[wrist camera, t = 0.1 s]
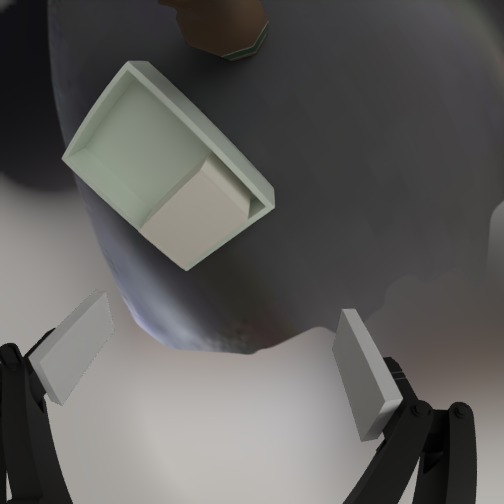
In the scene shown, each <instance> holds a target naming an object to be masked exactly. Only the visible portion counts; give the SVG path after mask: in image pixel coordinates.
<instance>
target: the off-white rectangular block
mask: <svg viewBox="0 0 504 504" xmlns="http://www.w3.org/2000/svg"><path fill="white" fill-rule="evenodd" d="M250 198H251V190H250V189H249V188H248V187H247V186H246V185H245V184H244V183H243V182H242V181H241V180H240V179H239V178H238V177H237V176H236V175H235V174H234V173H233V172H232V171H231V170H230V169H229V167H228V166H227V165H226V164H225V163H224V162H223V161H222V160H221V159H220V158H219V157H218V156H217V155H216V154H215V153H214V152H213V151H211V152H210V153H209V154H208V155H207V156H206V157H204V158H203V159H202V160H201V161H200V162H199V163H198V164H197V165H196V166H195V167H194V168H192V169H191V170H190V171H189V172H188V173H187V174H186V175H185V176H184V177H183V178H182V179H181V180H180V181H179V182H178V183H177V184H176V185H175V186H174V187H173V188H172V189H171V190H170V191H169V192H168V193H167V194H166V195H165V196H164V197H163V198H162V199H161V200H160V201H159V202H158V203H157V204H156V206H155V207H154V208H153V210H152V211H151V213H150V214H149V216H148V217H147V219H146V220H145V222H144V223H143V225H142V226H141V228H140V229H139V231H138V232H139V233H141V234H142V235H143V236H144V237H145V238H146V239H148V240H149V241H150V242H151V243H152V244H153V245H155V246H156V247H157V248H158V249H159V250H160V251H162V252H163V253H164V254H165V255H166V256H168V257H169V258H170V259H171V260H172V261H174V262H175V263H176V264H177V265H179V266H180V267H181V268H184V267H185V266H186V265H188V264H189V263H190V262H192V261H193V260H194V259H196V258H197V257H198V256H200V255H201V254H202V253H204V252H205V251H206V250H208V249H209V248H210V247H212V246H213V245H214V244H216V243H217V242H219V241H220V240H221V239H223V238H224V237H225V236H227V235H228V234H229V233H231V232H232V231H233V230H235V229H236V228H238V227H239V226H240V225H242V224H243V223H244V222H246V221H247V220H248V215H249V206H250Z"/></svg>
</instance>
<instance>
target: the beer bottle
mask: <svg viewBox="0 0 504 504" xmlns="http://www.w3.org/2000/svg"><path fill="white" fill-rule="evenodd" d="M158 2H159V4H161V5H166V6H171V7H174V8H175V9H177V10H178V13H177V16H176V19H177V22H178V24H179V26H180V29H181V31H182V34H183V36H184V38H185V41H186V43H187V44H188V45H190V46H191V47H194V48H197V49H200V50H203V51H206V52H209V53H212V54H214V55H217V56H220V57H222V58H225V59H228V60H230V61H236V60H239V59H242V58H245V57H248V56H252V55H255V54H256V53H257V52H258V50H259V48H260V46H261V45H262V43H263V41H264V40H265V38H266V36H267V34H268V18H267V16H266V13H265V11H264V9H263V6H262V4H261V2H260V0H158Z"/></svg>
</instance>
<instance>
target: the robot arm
mask: <svg viewBox="0 0 504 504" xmlns="http://www.w3.org/2000/svg"><path fill="white" fill-rule="evenodd" d="M113 332H114V327H113V323H112V319H111V314H110V309H109V304H108V299H107V293H106V291H99V290H95V291H94V292H93V293H92V294H91V295H90V296H89V297H88V298H87V299H85V300H84V301H83V302H82V303H81V304H80V305H79V306H78V307H77V308H76V309H75V310H74V311H73V312H72V313H71V314H70V315H69V316H68V317H67V318H66V319H65V320H64V321H63V322H62V323H61V324H60V325H59V326H58V327H57V328H53V329H52V330H50V331H48V332H47V333H46V334H45V335H44V336H43V337H42V338H41V339H40V340H39V341H38V342H37V344H35V345H34V346H33V347H32V348H31V349H30V350H29V351H28V352H27V353H26V354H25V356H24V357H22V355H21V353H20V351H19V348H18V346H17V345H16V344H14V343H7V344H4V345H2V346H1V347H0V504H73V502H72V500H71V498H70V495H69V492H68V489H67V486H66V484H65V481H64V478H63V475H62V471H61V468H60V465H59V461H58V458H57V455H56V450H55V447H54V442H53V439H52V434H51V429H50V424H49V419H48V413H47V407H46V401H45V399H44V397H43V396H44V395H45V394H46V393H47V395H48V396H49V398H50V400H51V401H52V402H55V403H57V404H59V405H62V406H63V404H64V403H65V401H66V400H67V398H68V397H69V395H70V393H71V392H72V390H73V389H74V387H75V386H76V384H77V383H78V381H79V380H80V379H81V377H82V376H83V374H84V372H85V371H86V370H87V368H88V367H89V365H90V364H91V363H92V361H93V360H94V358H95V357H96V355H97V354H98V353H99V351H100V350H101V348H102V347H103V346H104V344H105V343H106V342H107V340H108V339H109V338H110V336H111V335H112V334H113ZM332 350H333V353H334V356H335V359H336V362H337V365H338V368H339V371H340V374H341V377H342V381H343V384H344V387H345V390H346V393H347V396H348V399H349V402H350V406H351V409H352V413H353V416H354V419H355V422H356V426H357V429H358V433H359V436H360V440H361V441H362V442H363V441H369V440H374V439H378V437H379V436H380V434H381V433H382V431H383V434H384V437H385V439H384V440H383V442H382V443H381V444H380V446H379V447H378V448H377V449H376V451H377V452H376V454H375V456H374V457H373V459H372V461H371V462H370V464H369V466H368V467H367V469H366V470H365V472H364V474H363V475H362V477H361V478H360V480H359V481H358V483H357V484H356V486H355V487H354V489H353V490H352V491H351V493H350V494H349V496H348V497H347V498H346V500H345V501H344V502H343V504H398V502H399V500H400V498H401V496H402V494H403V492H404V490H405V488H406V486H407V484H408V482H409V480H410V478H411V476H412V473H413V471H414V469H415V467H416V464H417V461H418V459H419V457H420V461H419V468H418V475H417V482H416V487H415V492H414V497H413V502H412V504H475V501H476V486H477V452H476V437H475V425H474V416H473V412H472V409H471V408H470V406H469V405H467V404H466V403H463V402H455V403H453V404H452V405H451V406H450V408H449V409H448V410H435V409H433V408H432V407H431V406H430V405H429V404H428V403H427V402H425V401H422V400H418V398H417V396H416V395H415V393H414V391H413V389H412V387H411V385H410V384H409V382H408V380H407V379H406V377H405V375H404V373H402V369H401V368H400V366H399V364H398V363H397V362H396V361H395V360H394V359H392V358H391V357H386V358H382V357H381V355H380V353H379V351H378V349H377V347H376V345H375V343H374V342H373V340H372V338H371V336H370V334H369V333H368V331H367V329H366V327H365V326H364V324H363V322H362V320H361V318H360V317H359V315H358V313H357V311H356V310H355V309H342V312H341V316H340V320H339V324H338V328H337V332H336V336H335V340H334V344H333V347H332ZM6 473H8V479H9V484H10V489H11V493H12V499H11V500H8V501H7V498H6Z"/></svg>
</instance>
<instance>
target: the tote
mask: <svg viewBox="0 0 504 504" xmlns="http://www.w3.org/2000/svg"><path fill="white" fill-rule="evenodd" d="M211 151H213V152H214V153H215V154H216V155H217V156H218V157H219V158H220V159H221V160H222V161H223V162H224V163H225V164H226V165H227V166H228V167H229V169H230V170H231V171H232V172H233V173H234V174H235V175H236V176H237V177H238V178H239V179H240V180H241V181H242V182H243V183H244V184H245V185H246V186H247V187H248V188H249V189H250V190H251V198H250V206H249V215H248V220H247V221H246V222H244V223H243V224H242V225H240V226H239V227H238V228H236V229H235V230H233V231H232V232H231V233H229V234H228V235H227V236H225V237H224V238H223V239H221V240H220V241H219V242H217V243H216V244H214V245H213V246H212V247H210V248H209V249H208V250H206V251H205V252H204V253H202V254H201V255H200V256H198V257H197V258H196V259H194V260H193V261H192V262H190V263H189V264H188V265H186V266H185V267H184V268H183V269H184V270H186V271H188V270H189V269H190V268H192V267H193V266H194V265H196V264H197V263H198V262H200V261H201V260H203V259H204V258H205V257H207V256H208V255H209V254H211V253H212V252H214V251H215V250H216V249H218V248H219V247H220V246H222V245H223V244H225V243H226V242H227V241H229V240H230V239H232V238H233V237H234V236H236V235H237V234H238V233H240V232H241V231H243V230H244V229H245V228H247V227H248V226H250V225H251V224H252V223H254V222H255V221H257V220H258V219H260V218H261V217H262V216H264V215H265V214H267V213H268V212H269V211H271V210H272V209H274V208H275V199H274V188H273V187H272V186H271V184H270V183H269V182H268V181H267V180H266V179H265V178H264V177H263V176H262V174H261V173H260V172H259V171H258V170H257V169H256V168H255V167H254V166H253V165H252V164H251V162H250V161H249V160H248V159H247V158H246V157H245V156H244V155H243V154H242V153H241V152H240V151H239V150H238V149H237V147H236V146H235V145H234V144H233V143H232V142H231V141H230V140H229V139H228V138H227V137H226V136H225V135H224V134H223V133H222V132H221V131H220V130H219V129H218V128H217V127H216V126H215V125H214V124H213V123H212V122H211V121H210V120H209V119H208V118H207V117H206V116H205V115H204V114H203V113H202V112H201V111H200V110H199V109H198V108H197V107H196V106H195V105H194V104H193V103H192V102H191V101H190V100H189V99H188V98H187V97H186V96H185V95H184V94H183V93H182V92H181V91H180V90H179V89H177V88H176V87H175V86H174V85H173V84H172V83H171V82H170V81H169V80H168V79H167V78H166V77H165V76H164V75H162V74H161V73H160V72H159V71H158V70H157V69H156V68H155V67H154V66H153V65H151V64H150V63H149V62H148V61H127V62H126V63H125V65H124V66H123V67H122V68H121V69H120V71H119V72H118V73H117V74H116V76H115V77H114V78H113V80H112V81H111V82H110V83H109V85H108V86H107V87H106V89H105V90H104V91H103V93H102V94H101V96H100V97H99V98H98V100H97V101H96V103H95V104H94V106H93V107H92V109H91V110H90V112H89V113H88V115H87V116H86V118H85V119H84V121H83V122H82V124H81V126H80V127H79V129H78V130H77V132H76V134H75V136H74V137H73V139H72V141H71V142H70V144H69V146H68V148H67V150H66V151H65V153H64V155H63V157H62V160H63V161H64V162H65V163H66V164H67V165H68V166H69V167H70V168H71V169H72V170H73V171H74V172H75V173H76V174H77V175H78V176H79V177H80V178H81V179H82V180H83V181H84V182H86V183H87V184H88V185H89V186H90V187H91V188H92V189H93V190H94V191H95V192H96V193H97V194H98V195H99V196H100V197H101V198H102V199H104V200H105V201H106V202H107V203H108V204H109V205H110V206H111V207H112V208H113V209H114V210H116V211H117V212H118V213H119V214H120V215H121V216H122V217H123V218H124V219H126V220H127V221H128V222H129V223H130V224H131V225H132V226H133V227H135V228H136V229H137V230H138V231H139V229H140V228H141V226H142V225H143V223H144V222H145V220H146V219H147V217H148V216H149V214H150V213H151V211H152V210H153V208H154V207H155V206H156V204H157V203H158V202H159V201H160V200H161V199H162V198H163V197H164V196H165V195H166V194H167V193H168V192H169V191H170V190H171V189H172V188H173V187H174V186H175V185H176V184H177V183H178V182H179V181H180V180H181V179H182V178H183V177H184V176H185V175H186V174H187V173H188V172H189V171H190V170H191V169H192V168H194V167H195V166H196V165H197V164H198V163H199V162H200V161H201V160H202V159H203V158H204V157H206V156H207V155H208V154H209V153H210V152H211Z"/></svg>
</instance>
